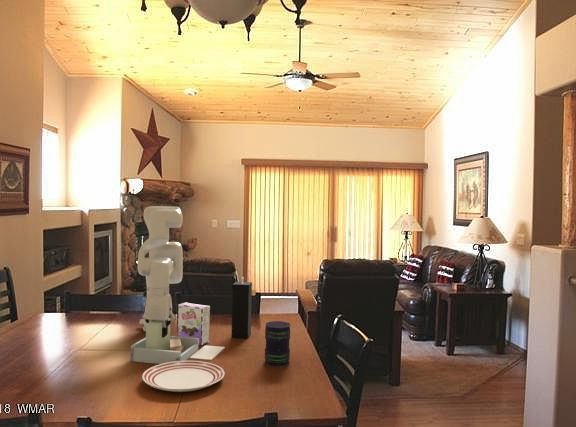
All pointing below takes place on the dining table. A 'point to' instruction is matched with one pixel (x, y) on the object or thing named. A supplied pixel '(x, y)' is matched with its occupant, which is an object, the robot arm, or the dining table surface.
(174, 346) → the offcut upper
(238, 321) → the tissue box
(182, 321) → the candy box
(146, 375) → the dinner plate
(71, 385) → the dining table surface
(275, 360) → the storage jar
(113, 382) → the dining table surface
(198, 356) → the felt mat
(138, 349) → the grey square tray frame
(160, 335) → the pale green block
